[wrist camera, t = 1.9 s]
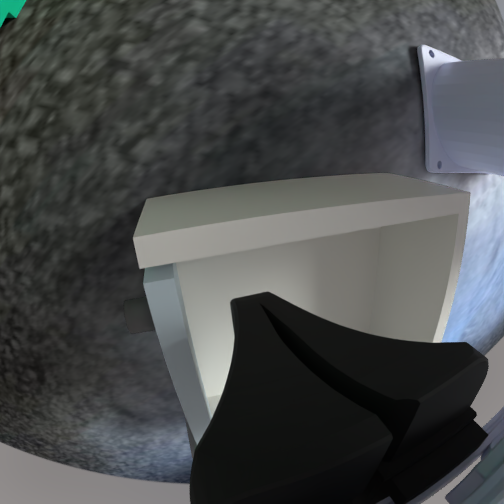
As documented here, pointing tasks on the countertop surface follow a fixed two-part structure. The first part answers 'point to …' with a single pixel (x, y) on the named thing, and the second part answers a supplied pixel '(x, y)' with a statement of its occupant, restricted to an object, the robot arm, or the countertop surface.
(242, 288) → the cream case
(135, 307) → the case door
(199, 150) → the countertop surface
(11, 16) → the camera mount
